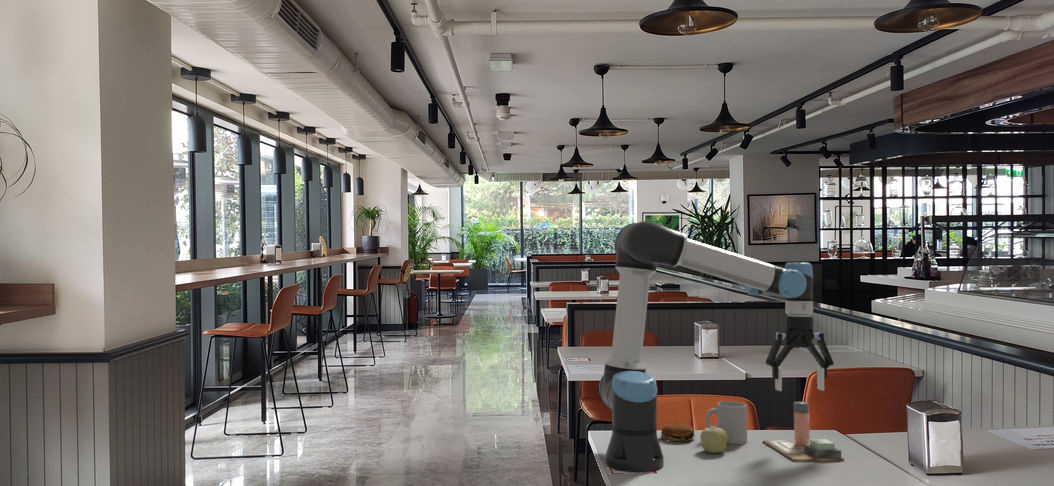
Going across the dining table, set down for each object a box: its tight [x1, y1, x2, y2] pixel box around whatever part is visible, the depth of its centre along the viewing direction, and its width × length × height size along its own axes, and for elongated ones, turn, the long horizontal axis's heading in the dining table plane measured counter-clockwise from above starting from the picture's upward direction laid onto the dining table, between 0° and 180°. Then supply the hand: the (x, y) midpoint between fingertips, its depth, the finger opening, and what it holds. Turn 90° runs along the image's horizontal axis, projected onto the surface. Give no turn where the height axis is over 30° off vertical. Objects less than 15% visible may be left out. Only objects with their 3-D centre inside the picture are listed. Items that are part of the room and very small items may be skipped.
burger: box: [660, 422, 696, 442], centre depth 212 cm, size 10×9×5 cm
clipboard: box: [762, 439, 845, 463], centre depth 199 cm, size 14×20×3 cm
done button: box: [810, 438, 836, 450], centre depth 193 cm, size 5×5×2 cm
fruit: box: [700, 423, 728, 454], centre depth 198 cm, size 8×7×8 cm
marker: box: [793, 401, 811, 447], centre depth 203 cm, size 4×4×12 cm
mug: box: [705, 400, 748, 445], centre depth 211 cm, size 12×8×11 cm
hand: (799, 390), depth 204 cm, fingers open, 12 cm apart
